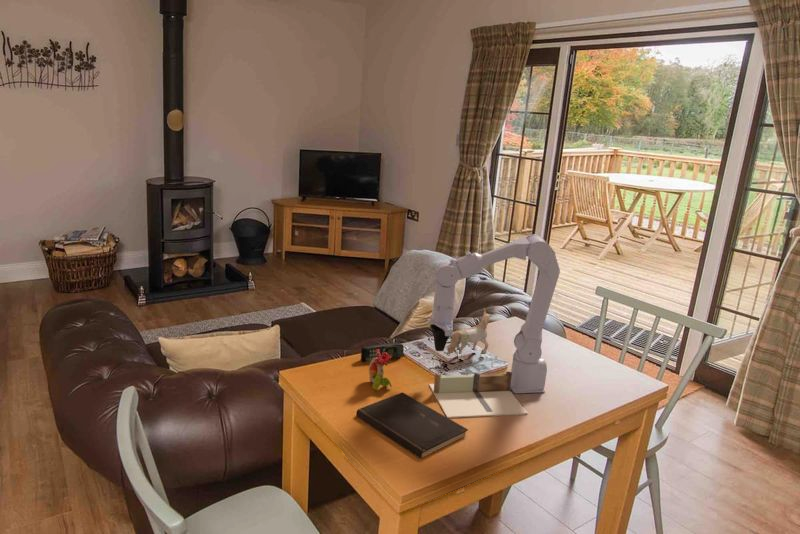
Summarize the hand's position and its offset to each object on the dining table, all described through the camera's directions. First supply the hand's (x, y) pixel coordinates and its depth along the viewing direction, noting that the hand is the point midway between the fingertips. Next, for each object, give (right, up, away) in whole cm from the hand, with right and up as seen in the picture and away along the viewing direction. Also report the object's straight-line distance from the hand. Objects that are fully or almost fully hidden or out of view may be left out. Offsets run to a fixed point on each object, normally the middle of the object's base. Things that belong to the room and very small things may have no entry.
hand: (439, 350), depth 166 cm
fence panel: (+3, -11, -5) cm, 12 cm away
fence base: (+14, -11, -2) cm, 18 cm away
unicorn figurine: (+10, -4, +23) cm, 26 cm away
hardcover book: (-9, -16, -22) cm, 29 cm away
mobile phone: (-16, -5, +14) cm, 22 cm away
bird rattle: (-18, -10, -3) cm, 21 cm away
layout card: (+10, -12, -7) cm, 17 cm away
